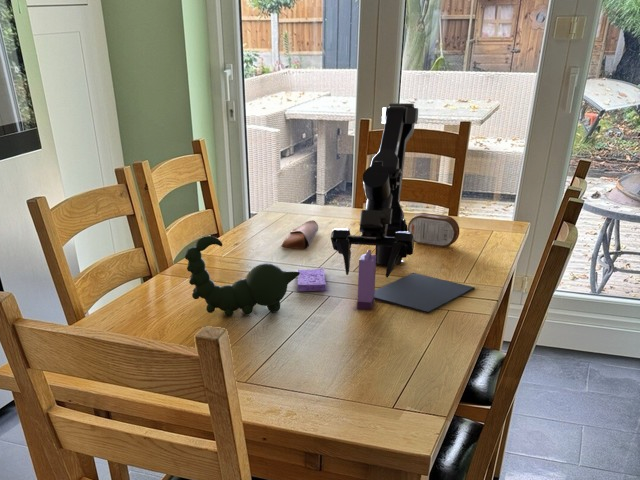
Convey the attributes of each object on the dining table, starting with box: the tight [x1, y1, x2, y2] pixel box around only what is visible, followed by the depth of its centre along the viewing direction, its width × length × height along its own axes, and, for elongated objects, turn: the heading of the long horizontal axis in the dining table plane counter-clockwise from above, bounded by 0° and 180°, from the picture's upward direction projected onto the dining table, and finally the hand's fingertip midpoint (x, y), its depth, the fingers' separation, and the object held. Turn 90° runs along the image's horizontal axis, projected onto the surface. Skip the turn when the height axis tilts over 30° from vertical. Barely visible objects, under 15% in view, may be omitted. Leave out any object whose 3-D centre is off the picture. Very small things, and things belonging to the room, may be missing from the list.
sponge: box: [297, 268, 327, 292], centre depth 182 cm, size 7×13×2 cm, turn 179°
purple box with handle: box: [356, 249, 377, 311], centre depth 165 cm, size 5×3×12 cm
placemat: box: [374, 272, 475, 315], centre depth 174 cm, size 18×21×1 cm
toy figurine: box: [184, 235, 300, 318], centre depth 162 cm, size 9×19×25 cm
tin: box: [407, 212, 460, 248], centre depth 205 cm, size 15×3×8 cm, turn 58°
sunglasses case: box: [280, 220, 319, 251], centre depth 213 cm, size 18×7×7 cm
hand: (366, 275), depth 164 cm, fingers open, 9 cm apart
